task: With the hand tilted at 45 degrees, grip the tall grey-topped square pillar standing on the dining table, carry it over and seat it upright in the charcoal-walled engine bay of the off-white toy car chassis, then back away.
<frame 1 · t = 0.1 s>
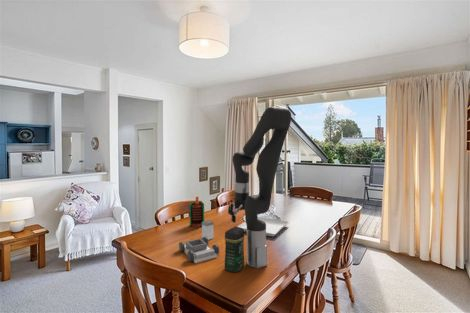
hand: (240, 220, 132), 17 cm above the table, tool pointing down, fingers open, 8 cm apart
car chassis: (198, 252, 134), on the table
coffee jar: (234, 268, 118), on the table
grey-topped square pillar: (207, 238, 155), on the table
square plate: (263, 229, 171), on the table
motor: (197, 225, 179), on the table
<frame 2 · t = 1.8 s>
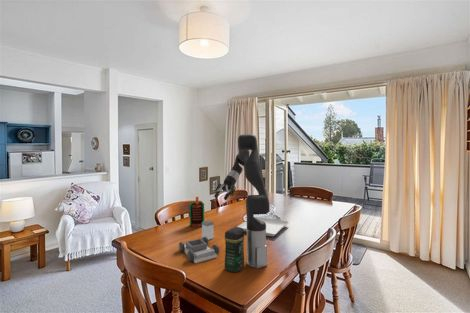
hand: (219, 198, 162), 23 cm above the table, tool tilted 45°, fingers open, 8 cm apart
nothing on the table moved.
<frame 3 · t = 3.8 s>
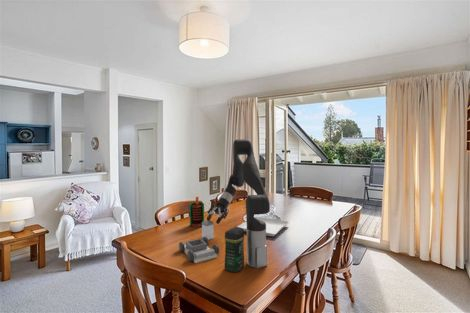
hand: (212, 221, 157), 9 cm above the table, tool tilted 45°, fingers open, 8 cm apart
nothing on the table moved.
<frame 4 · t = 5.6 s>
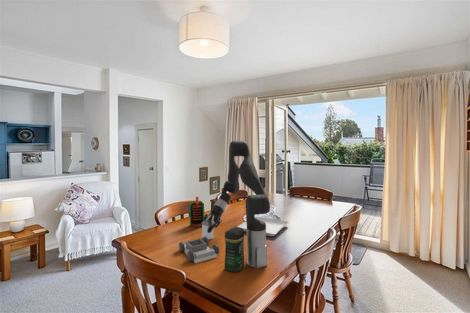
hand: (205, 231, 153), 5 cm above the table, tool tilted 45°, fingers closed on grey-topped square pillar, 5 cm apart
grey-topped square pillar: (207, 238, 155), on the table, touching gripper
everything else where it was.
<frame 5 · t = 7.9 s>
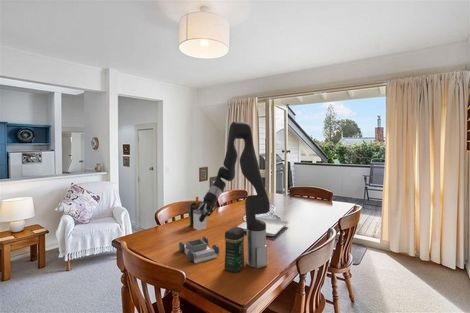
hand: (197, 220, 139), 16 cm above the table, tool tilted 45°, fingers closed on grey-topped square pillar, 5 cm apart
grey-topped square pillar: (200, 228, 141), point 11 cm above the table, touching gripper
everything else where it was.
when the fingers open (8 cm above the table, at t = 10.3 s): grey-topped square pillar drops 2 cm, resting on car chassis.
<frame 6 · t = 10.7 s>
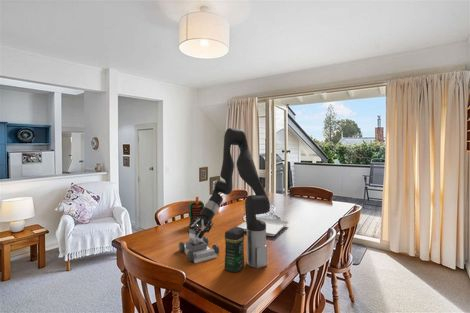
hand: (194, 236, 135), 8 cm above the table, tool tilted 45°, fingers open, 8 cm apart
grey-topped square pillar: (196, 247, 137), point 1 cm above the table, touching car chassis
everything else where it was.
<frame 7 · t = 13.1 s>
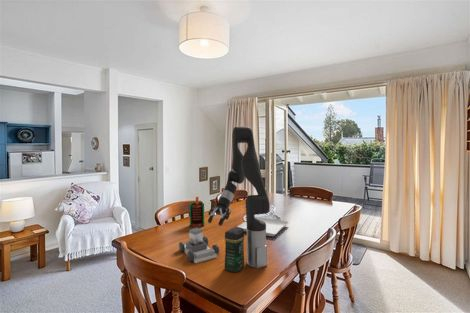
hand: (214, 223, 146), 12 cm above the table, tool tilted 40°, fingers open, 8 cm apart
nothing on the table moved.
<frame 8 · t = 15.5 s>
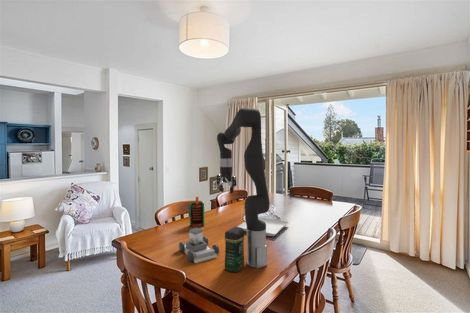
hand: (226, 192, 153), 28 cm above the table, tool pointing down, fingers open, 8 cm apart
nothing on the table moved.
at the end: grey-topped square pillar 0.2 cm from the target spot on the car chassis, point 1.5 cm above the car chassis's base; grey-topped square pillar tilted 0°; the gripper is holding nothing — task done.
